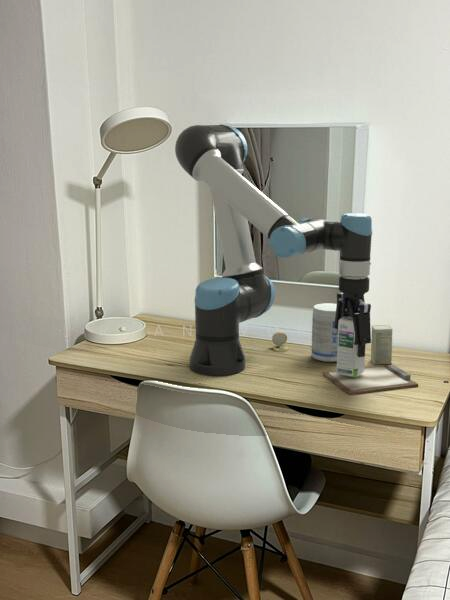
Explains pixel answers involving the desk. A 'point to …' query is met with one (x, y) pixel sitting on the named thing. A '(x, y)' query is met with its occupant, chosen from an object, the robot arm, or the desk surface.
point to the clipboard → (373, 380)
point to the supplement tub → (324, 333)
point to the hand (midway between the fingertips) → (350, 362)
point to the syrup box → (346, 348)
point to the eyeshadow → (279, 342)
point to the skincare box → (381, 344)
